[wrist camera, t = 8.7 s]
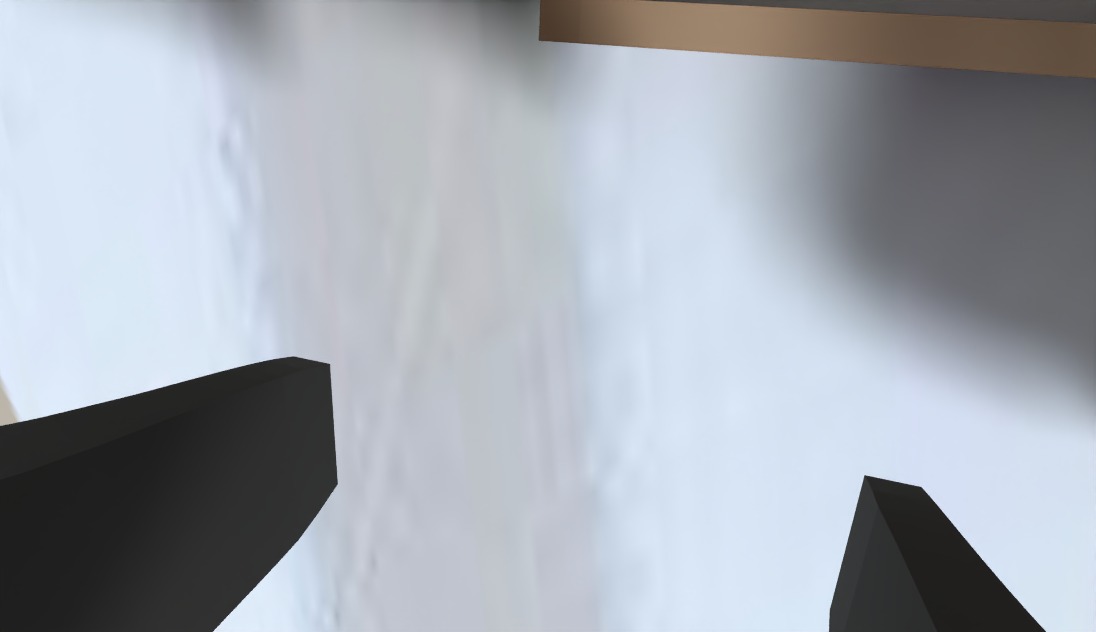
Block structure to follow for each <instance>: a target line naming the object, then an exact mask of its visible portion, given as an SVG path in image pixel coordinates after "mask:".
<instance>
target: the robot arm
mask: <svg viewBox="0 0 1096 632" xmlns="http://www.w3.org/2000/svg"><path fill="white" fill-rule="evenodd" d="M337 484H338V481H337V466H336V451H335V436H334V420H333V405H332V390H331V374H330V364H327V363H323V362H318V361H313V360H308V359H303V358H298V357H294V356H293V357H286V358H279V359H273V360H268V361H263V362H259V363H254V364H250V365H246V366H241V367H237V368H233V369H230V370H226V371H222V372H218V373H214V374H210V375H207V376H203V377H199V378H195V379H192V380H188V381H184V382H181V383H177V384H173V385H169V386H166V387H162V388H158V389H155V390H151V391H147V392H143V393H140V394H136V395H132V396H128V397H124V398H120V399H116V400H112V401H108V402H104V403H99V404H95V405H91V406H87V407H83V408H79V409H75V410H71V411H67V412H63V413H59V414H54V415H50V416H46V417H42V418H37V419H32V420H28V421H23V422H18V423H13V424H9V425H4V426H0V632H213V631H214V630H215V629H216V628H217V627H218V626H219V625H220V623H221V622H222V621H223V620H224V619H225V618H226V617H227V616H228V615H229V614H230V613H231V612H232V611H233V610H234V609H235V608H236V607H237V606H238V605H239V603H240V602H241V601H242V600H243V599H244V598H245V597H246V596H247V595H248V594H249V593H250V592H251V591H252V590H253V589H254V588H255V587H256V586H257V584H258V583H259V582H260V581H261V580H262V579H263V578H264V577H265V576H266V575H267V574H268V573H269V572H270V571H271V569H272V568H273V567H274V566H275V565H276V564H277V563H278V562H279V561H280V560H281V559H282V558H283V556H284V555H285V554H286V553H287V552H288V551H289V550H290V549H291V548H292V547H293V545H294V544H295V543H296V542H297V541H298V540H299V538H300V537H301V536H302V534H303V533H304V532H305V530H306V529H307V528H308V526H309V525H310V524H311V522H312V521H313V520H314V518H315V517H316V515H317V514H318V513H319V511H320V510H321V508H322V507H323V505H324V504H325V502H326V501H327V499H328V498H329V496H330V495H331V493H332V492H333V490H334V489H335V487H336V486H337ZM829 632H1046V631H1045V630H1044V629H1043V628H1042V627H1041V626H1040V625H1039V624H1038V623H1037V621H1036V620H1035V619H1034V618H1033V617H1032V616H1031V615H1030V614H1029V613H1028V611H1027V610H1026V609H1025V608H1024V607H1023V606H1022V605H1021V604H1020V603H1019V601H1018V600H1017V599H1016V598H1015V597H1014V596H1013V595H1012V593H1011V592H1010V591H1009V590H1008V589H1007V588H1006V587H1005V585H1004V584H1003V583H1002V582H1001V581H1000V580H999V579H998V577H997V576H996V575H995V574H994V573H993V572H992V570H991V569H990V568H989V567H988V566H987V565H986V563H985V562H984V561H983V560H982V559H981V557H980V556H979V555H978V554H977V553H976V551H975V550H974V549H973V548H972V547H971V545H970V544H969V543H968V542H967V541H966V539H965V538H964V537H963V536H962V535H961V533H960V532H959V531H958V530H957V529H956V527H955V526H954V525H953V524H952V523H951V521H950V520H949V519H948V518H947V516H946V515H945V514H944V513H943V512H942V510H941V509H940V508H939V507H938V506H937V504H936V503H935V502H934V501H933V500H932V499H931V497H930V496H929V495H928V494H927V493H926V492H925V491H924V490H923V488H922V487H919V486H914V485H909V484H904V483H899V482H894V481H890V480H885V479H880V478H875V477H870V476H866V475H865V476H864V480H863V484H862V488H861V492H860V495H859V499H858V503H857V507H856V511H855V515H854V519H853V523H852V526H851V530H850V534H849V538H848V542H847V546H846V550H845V554H844V557H843V561H842V565H841V569H840V573H839V577H838V581H837V585H836V588H835V592H834V596H833V600H832V604H831V608H830V619H829Z"/></svg>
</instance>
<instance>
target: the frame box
mask: <svg viewBox="0 0 1096 632" xmlns="http://www.w3.org/2000/svg"><path fill="white" fill-rule="evenodd" d="M539 41H553V42H568V43H582V44H597V45H612V46H627V47H641V48H656V49H671V50H685V51H700V52H715V53H730V54H744V55H759V56H774V57H789V58H803V59H818V60H833V61H847V62H862V63H877V64H892V65H906V66H921V67H936V68H950V69H965V70H980V71H995V72H1009V73H1024V74H1039V75H1053V76H1068V77H1083V78H1096V23H1078V22H1058V21H1038V20H1018V19H999V18H979V17H959V16H939V15H920V14H900V13H880V12H860V11H841V10H821V9H801V8H781V7H762V6H742V5H722V4H702V3H683V2H663V1H643V0H541V4H540V26H539Z"/></svg>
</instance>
